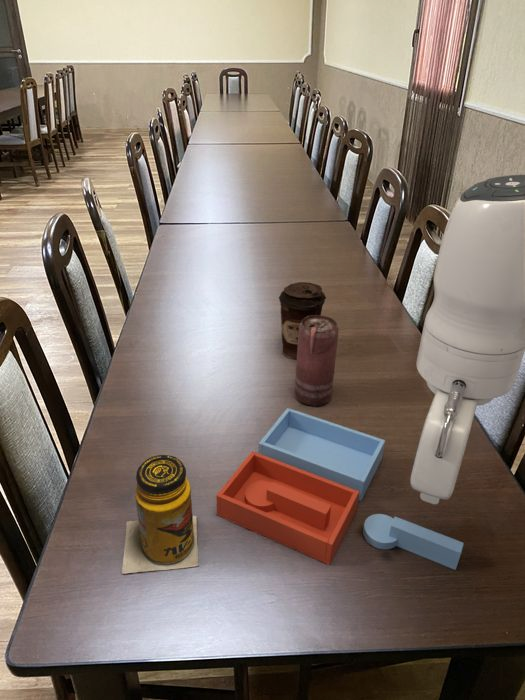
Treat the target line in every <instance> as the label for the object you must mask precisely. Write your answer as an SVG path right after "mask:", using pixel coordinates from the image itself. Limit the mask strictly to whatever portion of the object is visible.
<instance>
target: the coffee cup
mask: <svg viewBox="0 0 525 700" xmlns="http://www.w3.org/2000/svg"><path fill="white" fill-rule="evenodd" d="M278 299H279V303H280V323H281V324H280V326H281V334H280V336H281V343H282V349H281V350H282V354H283V355H284V356H286V357H287V358H290V359H294V360H297V349H298V333H299V326H300V324H301V322H302V320H303V319H304V318H305V317H308V316H312V315H322V311H323V306H324V304H325V301H326V300H327V296H326V295H325V293H324V292H323V287H322V286H321V285H319V284H317V283H313V282H307V281H304V282H303V281H300V282H299V281H298V282H294V283H290V284H289V285H287V286H285V287H283V290H282V291H281V292H280V294H279V296H278Z"/></svg>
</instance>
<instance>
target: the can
mask: <svg viewBox="0 0 525 700" xmlns="http://www.w3.org/2000/svg"><path fill="white" fill-rule="evenodd" d="M339 331H340V329H339V326H338V323H337V321H336V320H335V319H334V318H332V317H330V316H327V315H322V314H321V315H312V316H308V317H305V318H304V319H303V320H302V322H301V324H300V326H299V333H298V349H297V359H296V365H295V367H296V368H295V383H294V395H295V398H296V399H297V400H298V401H299V402H300V403H301V404H302V405H304V406H308V407H322V406H324V405H326V404H327V403H328V402H329V401H330V400H331V399H332V396H333V387H334V379H335V370H336V369H335V367H336V358H337V350H338V349H337V348H338V341H339Z"/></svg>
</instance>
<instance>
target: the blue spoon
mask: <svg viewBox="0 0 525 700" xmlns="http://www.w3.org/2000/svg"><path fill="white" fill-rule="evenodd" d="M362 529H363V530H362V535H363V537H364V539H365V541H366V542H367V543H368V544H369V545H370V546H372V547H374V548H376V549H377V550H392V549H393V548H395V547H398V548H400V549H402V550H405V551H408V552H410V553H411V554H415V555H416V556H420V557H422V558H425V559H427V560H429V561H432V562H434V563H437V564H439V565H442V566H444V567H446V568H449V569H452V570H454V571H456V570H457V567H458V564H459V561H460V558H461V555H462V551H463V549H464V548H463V547H464V542H462V541H461V540H460V541H459V540H457V539H454V538H452V537H450V536H447V535H444V534H442V533H439V532H436V531H433V530H431V529H429V528H426V527H423V526H421V525H419V524H416V523H413V522H411V521H408V520H406V519H403V518H400V517H398V516H394V517H392V516H390V515H387V514H383V513H375V514H371V515H369V516H368V517H366V519H365V521H364V522H363V527H362Z"/></svg>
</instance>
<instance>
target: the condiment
mask: <svg viewBox="0 0 525 700" xmlns="http://www.w3.org/2000/svg"><path fill="white" fill-rule="evenodd" d="M135 480H136V488H135V491H134V498H135V505H136V511H137V518H138V520H127V521H126V525H125V526H126V527H125V537H124V538H125V539H124V549H123V559H122V568H121V575H125V574H136V573H141V572H142V573H143V572H154V571H166V570H167V571H169V570H177V569H185V568H186V569H187V568H193V567H198V566H199V557H198V556H199V550H198V529H197V528H198V527H197V515H194V514H193V504H192V503H193V502H192V487H191V484H190V481H189V480H188V477H187V470H186V466H185V465H184V462H182V461H181V460H180V459H179V458H177V457H176V456H172V455H167V454H158V455H157V454H156V455H154V456H153V455H152V456H151V457H148V458H147V459H146V460H144V461H143V462H142V463H141V464H140V465H139V467H138V468H137V471H136V476H135Z"/></svg>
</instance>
